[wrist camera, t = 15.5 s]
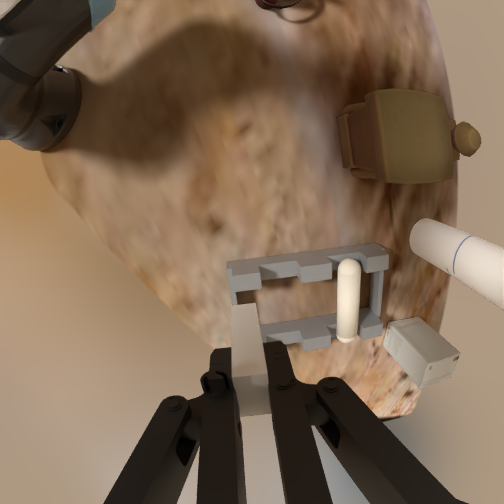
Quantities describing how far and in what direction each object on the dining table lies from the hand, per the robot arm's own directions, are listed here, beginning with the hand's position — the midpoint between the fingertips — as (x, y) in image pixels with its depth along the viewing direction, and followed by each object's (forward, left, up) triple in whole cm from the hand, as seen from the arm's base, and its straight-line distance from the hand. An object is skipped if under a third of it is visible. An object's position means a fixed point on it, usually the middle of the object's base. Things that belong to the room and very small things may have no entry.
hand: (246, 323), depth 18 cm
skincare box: (+30, -24, -27) cm, 47 cm away
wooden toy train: (+25, +12, -27) cm, 38 cm away
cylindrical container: (+33, -5, -27) cm, 43 cm away
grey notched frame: (+10, -12, -26) cm, 31 cm away
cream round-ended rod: (+15, -12, -23) cm, 30 cm away
